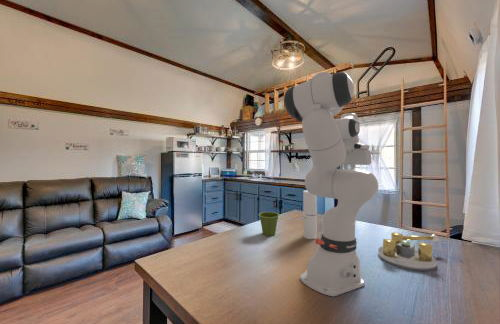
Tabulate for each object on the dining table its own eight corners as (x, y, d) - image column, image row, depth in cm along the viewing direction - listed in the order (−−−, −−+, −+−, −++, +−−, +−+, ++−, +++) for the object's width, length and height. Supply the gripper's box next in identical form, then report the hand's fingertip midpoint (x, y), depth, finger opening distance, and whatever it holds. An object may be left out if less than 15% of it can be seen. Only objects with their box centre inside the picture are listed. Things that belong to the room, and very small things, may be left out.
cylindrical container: (313, 240, 118) (313, 192, 117) (301, 237, 122) (301, 191, 122) (318, 236, 123) (318, 191, 123) (306, 233, 128) (306, 190, 127)
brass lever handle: (395, 249, 100) (395, 235, 100) (389, 245, 104) (389, 232, 104) (441, 249, 99) (441, 235, 99) (433, 245, 103) (433, 232, 103)
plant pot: (255, 232, 130) (254, 213, 130) (272, 229, 135) (272, 211, 135) (264, 239, 119) (264, 218, 119) (283, 235, 124) (283, 215, 124)
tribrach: (426, 276, 81) (426, 254, 81) (369, 257, 97) (369, 238, 97) (442, 261, 93) (442, 241, 93) (389, 246, 109) (389, 229, 109)
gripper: (327, 147, 119) (327, 173, 119) (366, 145, 102) (366, 175, 102) (334, 147, 122) (334, 172, 123) (372, 145, 106) (372, 174, 106)
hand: (349, 173), depth 112 cm, fingers closed
